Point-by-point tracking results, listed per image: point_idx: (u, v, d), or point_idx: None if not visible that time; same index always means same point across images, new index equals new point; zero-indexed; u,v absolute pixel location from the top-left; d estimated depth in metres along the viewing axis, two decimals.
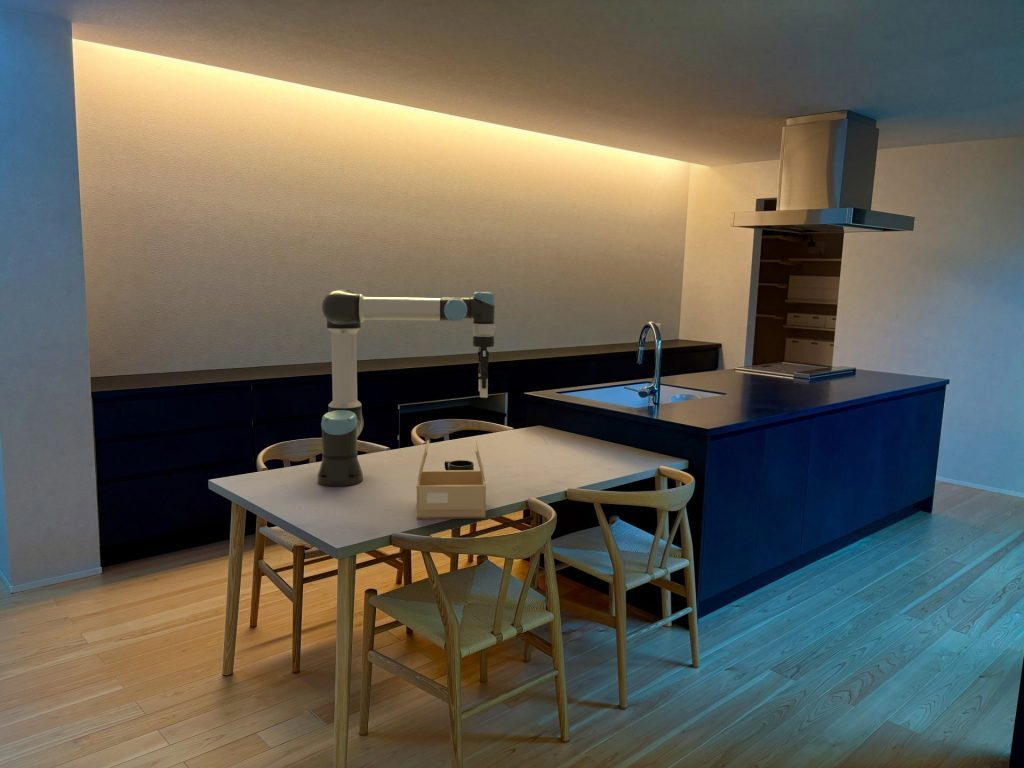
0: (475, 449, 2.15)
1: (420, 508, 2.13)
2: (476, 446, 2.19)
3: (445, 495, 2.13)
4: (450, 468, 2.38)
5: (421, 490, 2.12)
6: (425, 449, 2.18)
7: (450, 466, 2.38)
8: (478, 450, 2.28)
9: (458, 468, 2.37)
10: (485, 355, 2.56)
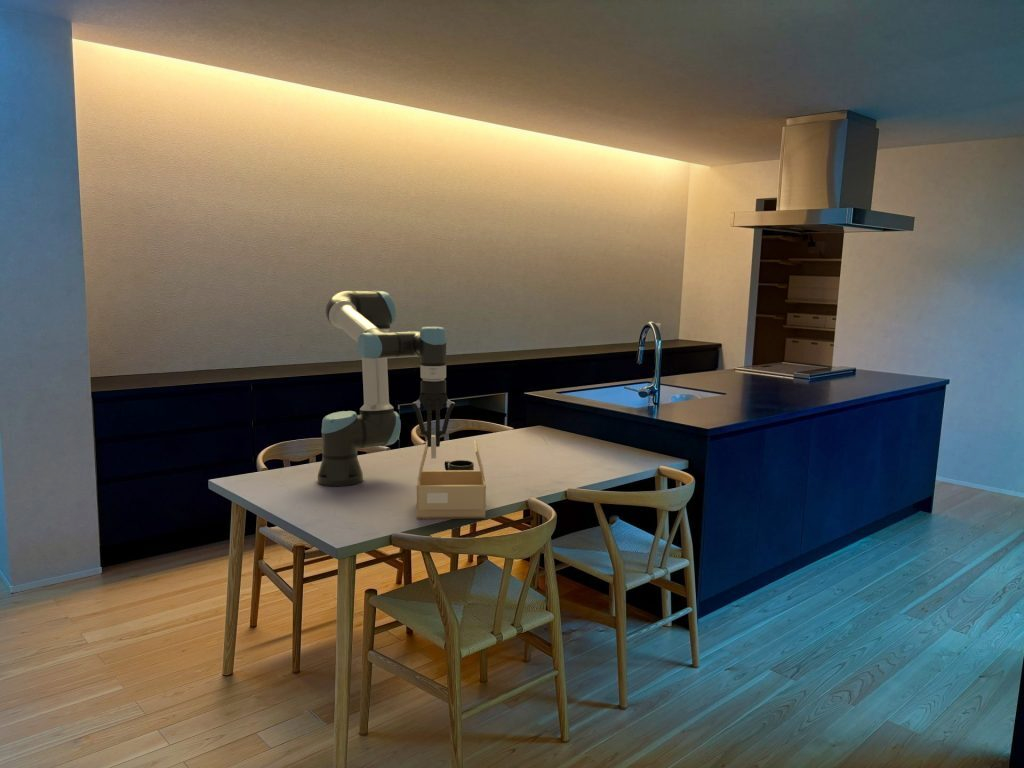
0: (475, 449, 2.15)
1: (420, 508, 2.13)
2: (476, 446, 2.19)
3: (445, 495, 2.13)
4: (450, 468, 2.38)
5: (421, 490, 2.12)
6: None
7: (450, 465, 2.38)
8: (478, 450, 2.28)
9: (458, 468, 2.37)
10: None
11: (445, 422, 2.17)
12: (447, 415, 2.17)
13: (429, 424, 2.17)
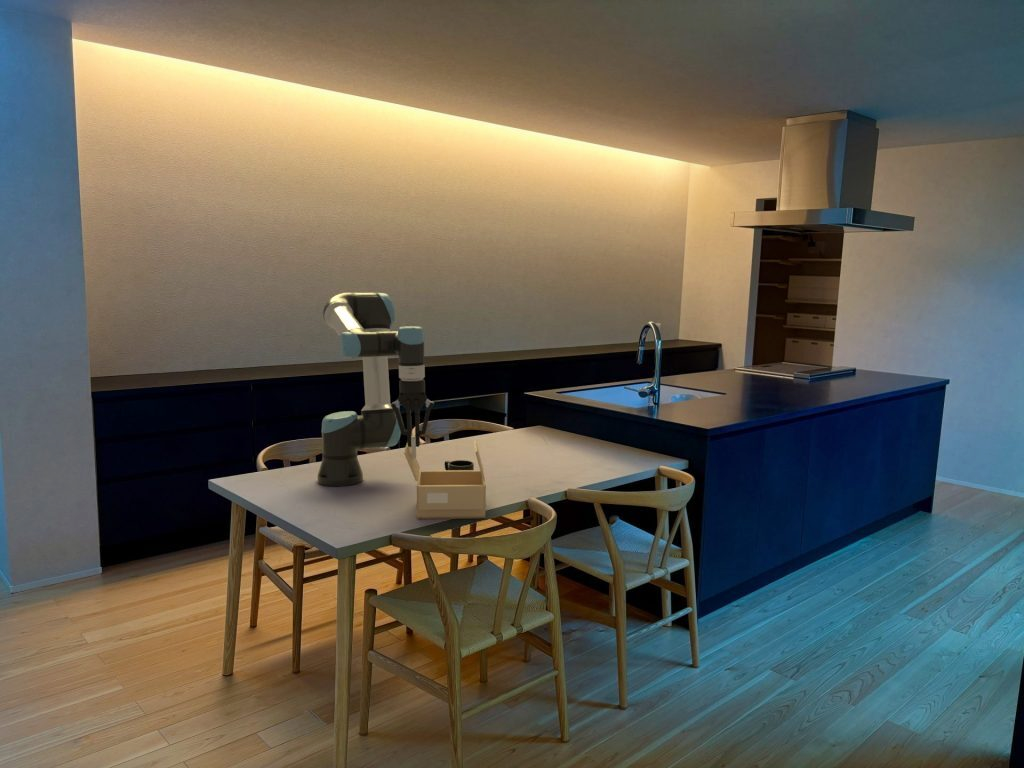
0: (475, 449, 2.15)
1: (420, 508, 2.13)
2: (476, 446, 2.19)
3: (445, 495, 2.13)
4: (450, 468, 2.38)
5: (421, 490, 2.12)
6: None
7: (450, 465, 2.38)
8: (478, 450, 2.28)
9: (458, 468, 2.37)
10: None
11: (424, 422, 2.17)
12: (426, 415, 2.16)
13: (409, 424, 2.16)
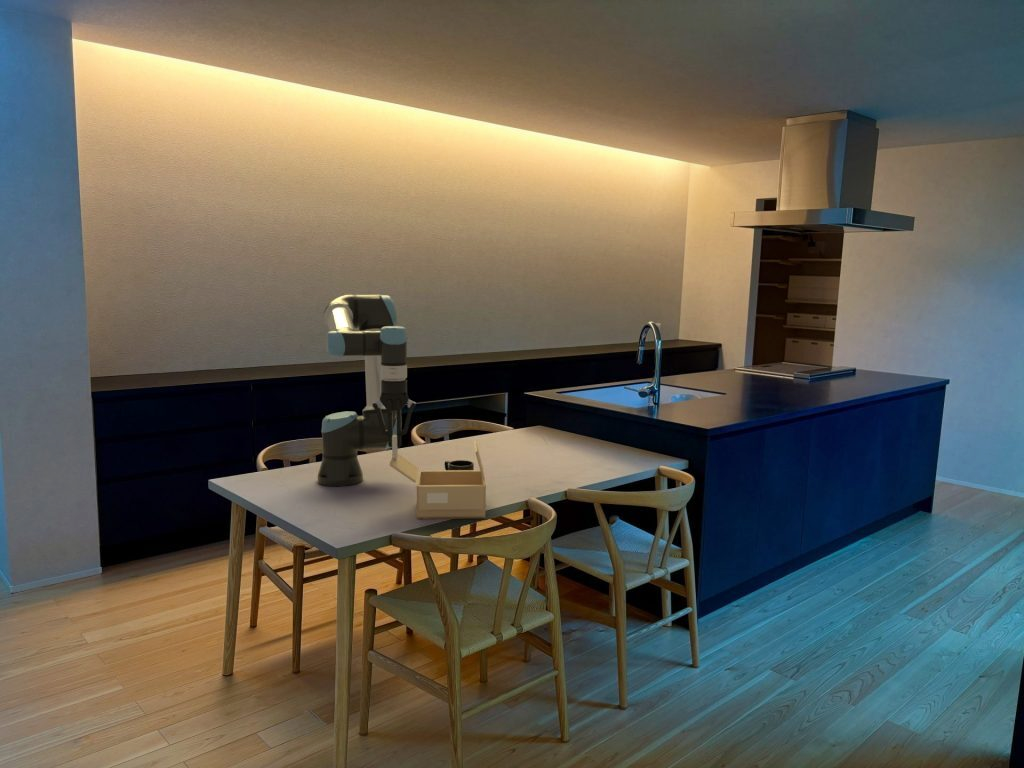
0: (475, 449, 2.15)
1: (420, 508, 2.13)
2: (476, 446, 2.19)
3: (445, 495, 2.13)
4: (450, 468, 2.38)
5: (421, 490, 2.12)
6: (394, 461, 2.18)
7: (450, 465, 2.38)
8: (478, 450, 2.28)
9: (458, 468, 2.37)
10: None
11: (406, 422, 2.16)
12: (408, 415, 2.16)
13: (390, 424, 2.16)
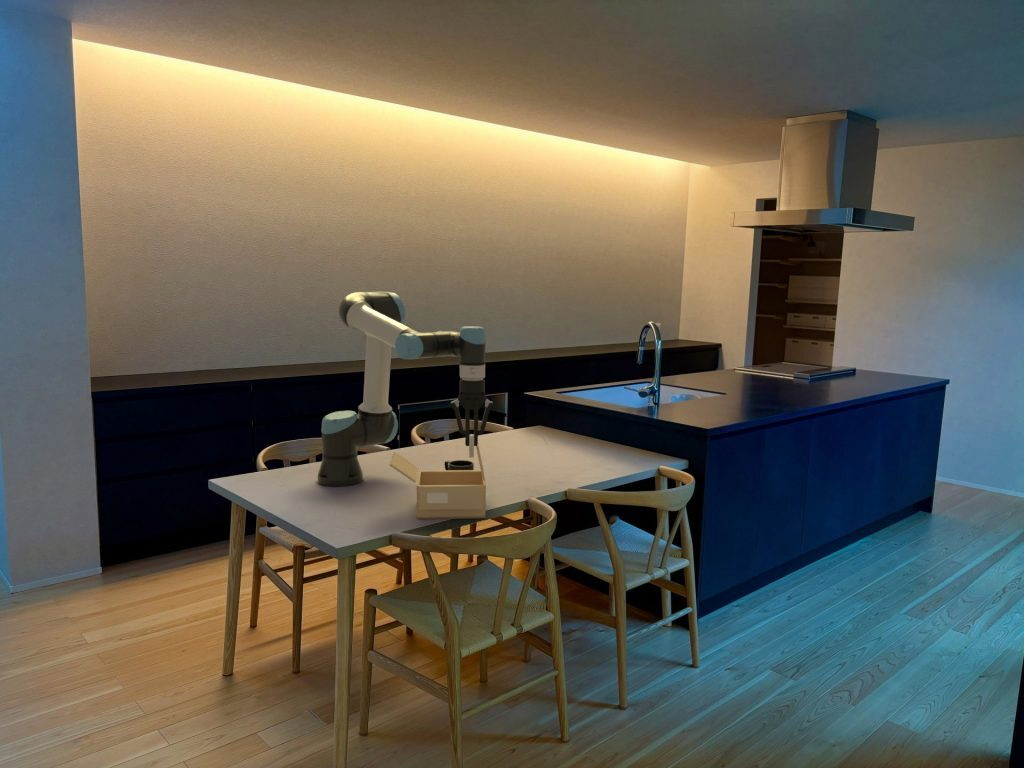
0: (477, 449, 2.15)
1: (420, 508, 2.13)
2: (478, 446, 2.19)
3: (445, 495, 2.13)
4: (450, 468, 2.38)
5: (421, 490, 2.12)
6: (394, 461, 2.18)
7: (450, 466, 2.38)
8: None
9: (458, 468, 2.37)
10: (453, 407, 2.17)
11: (483, 421, 2.18)
12: (485, 414, 2.18)
13: (467, 423, 2.18)
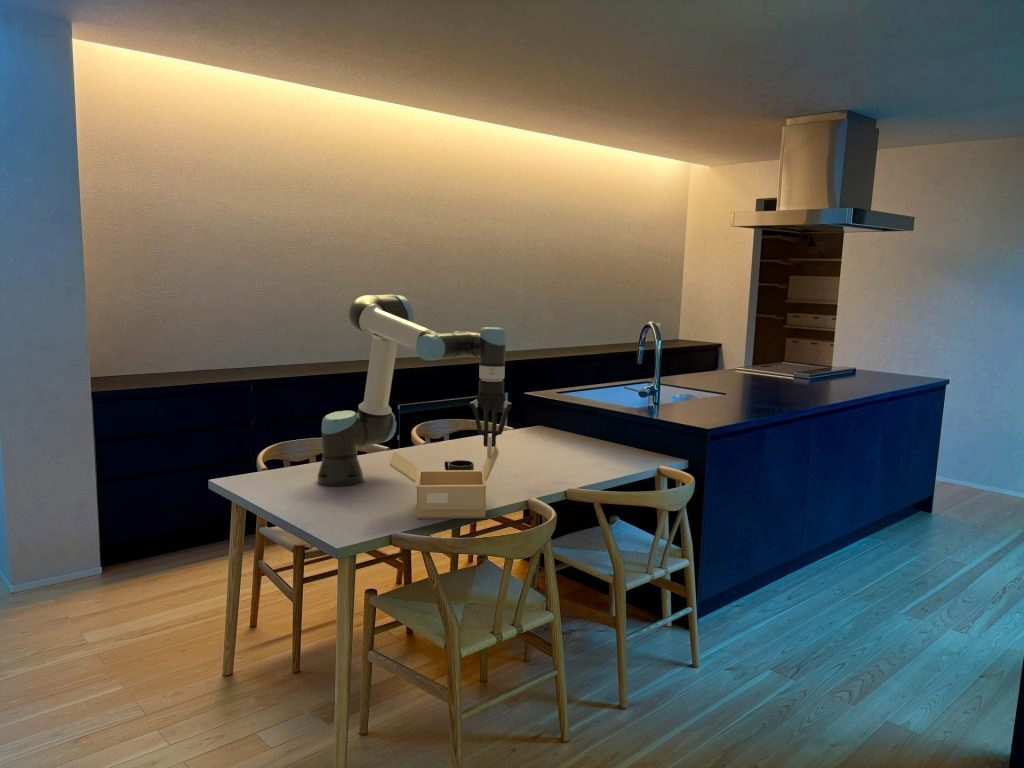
0: (496, 450, 2.16)
1: (420, 508, 2.13)
2: (497, 448, 2.19)
3: (445, 495, 2.13)
4: (450, 468, 2.38)
5: (421, 490, 2.12)
6: (394, 461, 2.18)
7: (450, 466, 2.38)
8: None
9: (458, 468, 2.37)
10: (472, 408, 2.18)
11: (502, 422, 2.18)
12: (504, 415, 2.18)
13: (486, 424, 2.18)
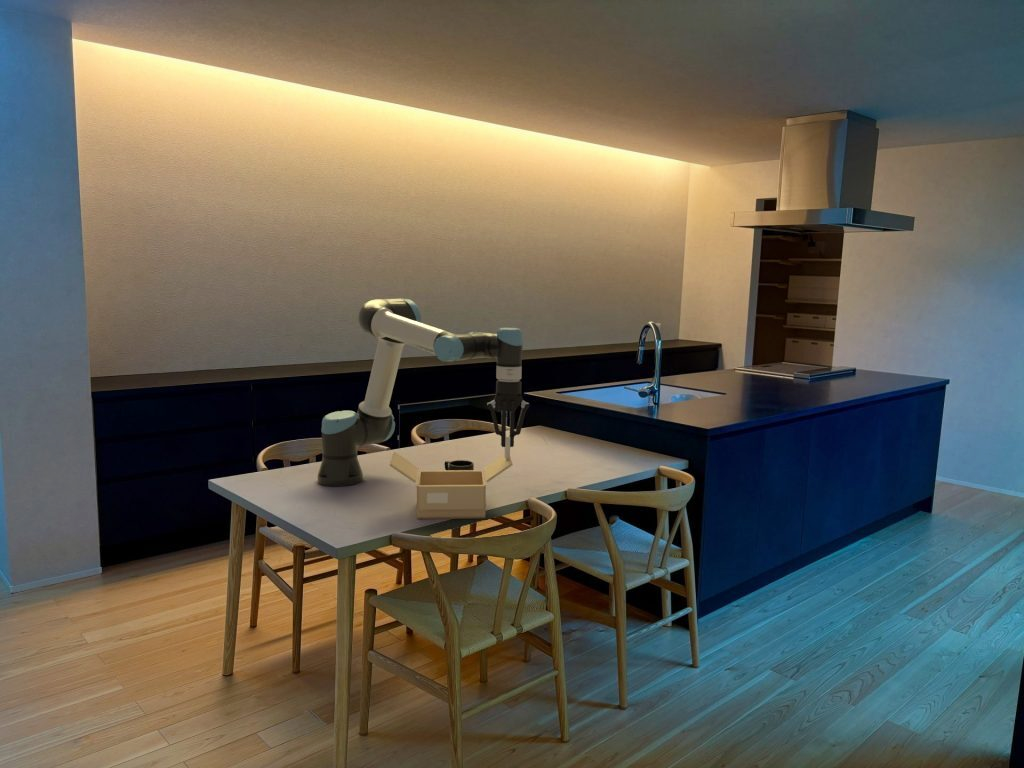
0: (511, 461, 2.17)
1: (420, 508, 2.13)
2: None
3: (445, 495, 2.13)
4: (450, 468, 2.38)
5: (421, 490, 2.12)
6: (394, 461, 2.18)
7: (450, 466, 2.38)
8: (499, 459, 2.29)
9: (458, 468, 2.37)
10: (489, 408, 2.18)
11: (520, 423, 2.19)
12: (522, 416, 2.19)
13: (504, 424, 2.18)
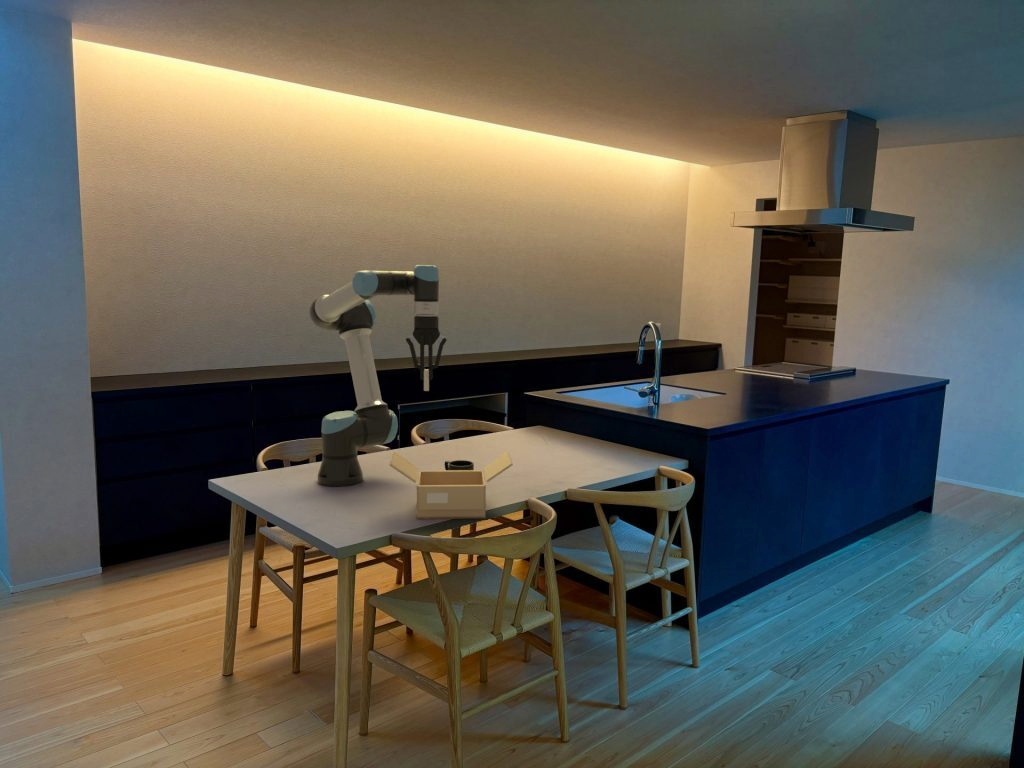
0: (511, 461, 2.17)
1: (420, 508, 2.13)
2: None
3: (445, 495, 2.13)
4: (450, 468, 2.38)
5: (421, 490, 2.12)
6: (394, 461, 2.18)
7: (450, 466, 2.38)
8: (499, 459, 2.29)
9: (458, 468, 2.37)
10: (408, 342, 2.28)
11: (437, 356, 2.29)
12: (439, 349, 2.29)
13: (422, 358, 2.29)
